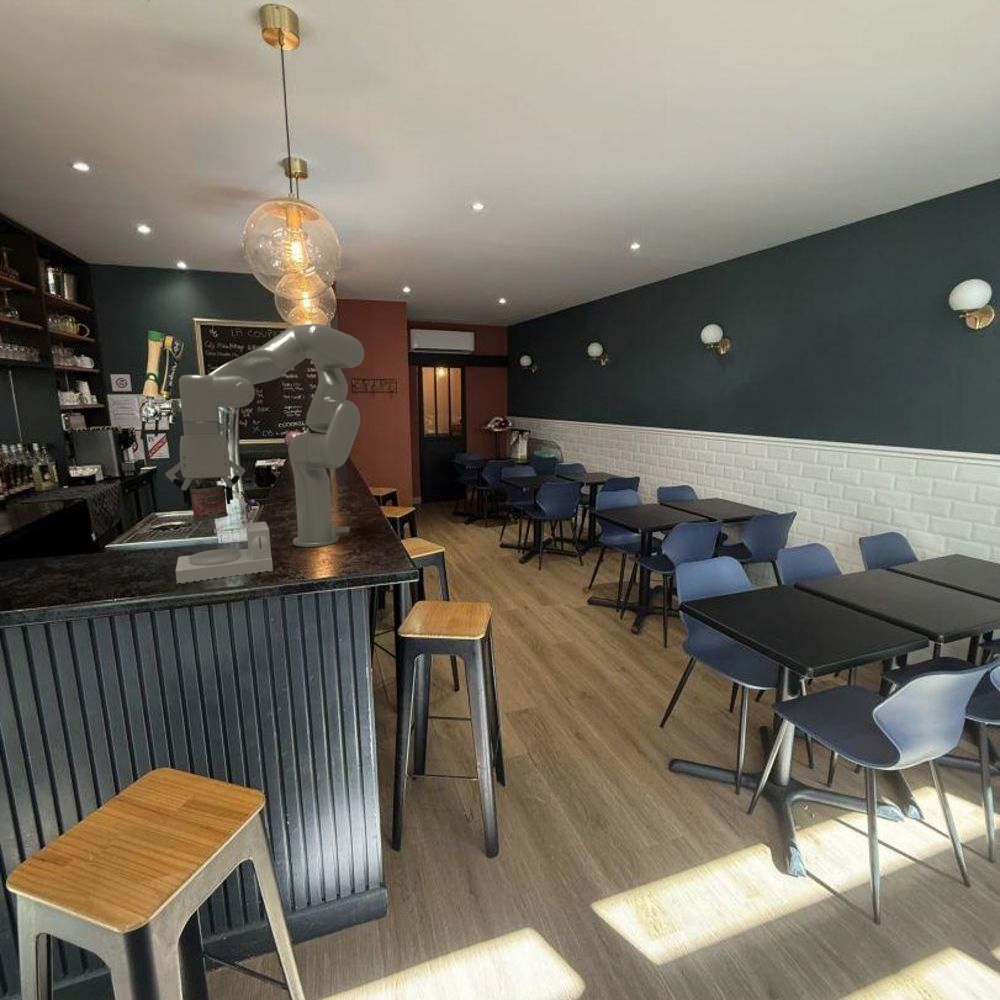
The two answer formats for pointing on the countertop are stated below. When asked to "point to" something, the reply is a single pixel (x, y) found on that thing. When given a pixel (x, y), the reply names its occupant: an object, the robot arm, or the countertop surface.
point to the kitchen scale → (229, 558)
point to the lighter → (208, 500)
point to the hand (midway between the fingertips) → (209, 504)
